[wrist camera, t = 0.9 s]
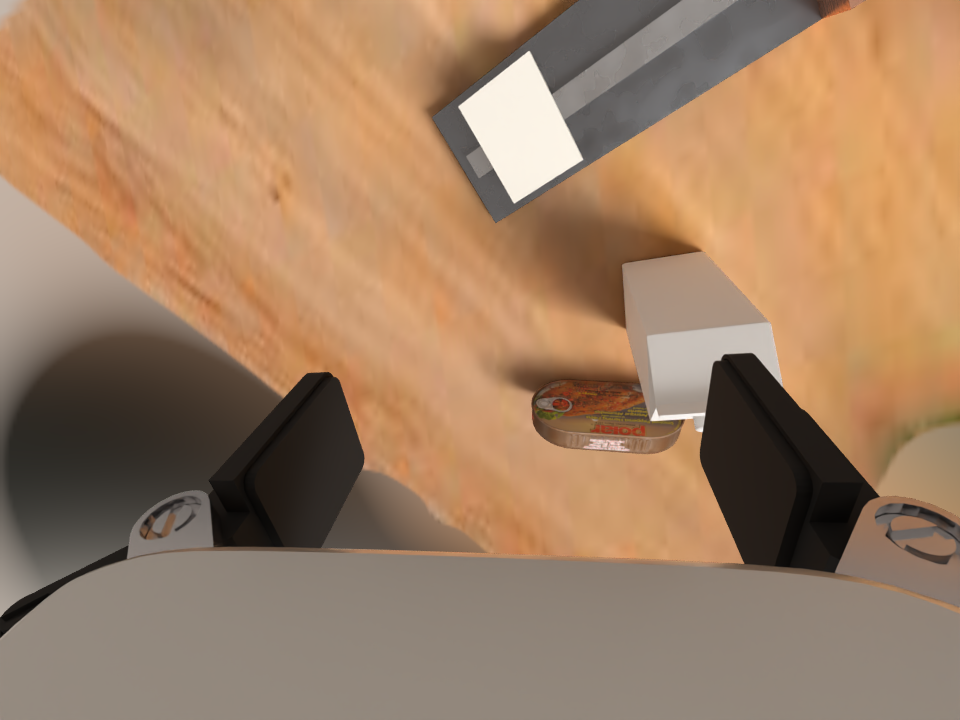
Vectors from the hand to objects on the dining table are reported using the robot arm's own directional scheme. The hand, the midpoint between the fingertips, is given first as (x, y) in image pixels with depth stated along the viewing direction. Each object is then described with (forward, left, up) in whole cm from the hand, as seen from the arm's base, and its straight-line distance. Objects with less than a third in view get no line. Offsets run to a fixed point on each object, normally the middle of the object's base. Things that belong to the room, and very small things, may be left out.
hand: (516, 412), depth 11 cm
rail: (-9, -5, -33) cm, 34 cm away
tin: (+5, +22, -33) cm, 40 cm away
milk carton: (-5, +14, -33) cm, 36 cm away
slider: (-1, -5, -31) cm, 31 cm away
